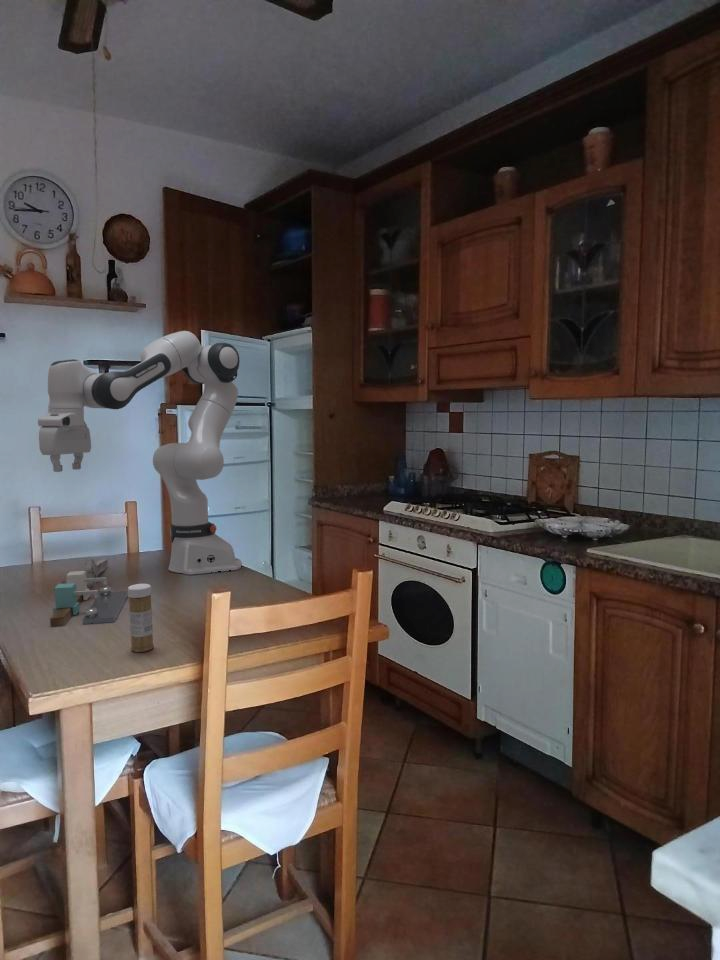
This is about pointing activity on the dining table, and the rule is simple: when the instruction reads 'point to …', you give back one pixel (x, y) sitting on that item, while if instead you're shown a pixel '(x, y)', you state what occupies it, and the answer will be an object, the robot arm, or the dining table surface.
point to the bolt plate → (105, 606)
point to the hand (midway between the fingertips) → (67, 470)
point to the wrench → (95, 568)
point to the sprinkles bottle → (140, 617)
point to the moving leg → (69, 597)
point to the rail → (63, 614)
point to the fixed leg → (83, 581)
